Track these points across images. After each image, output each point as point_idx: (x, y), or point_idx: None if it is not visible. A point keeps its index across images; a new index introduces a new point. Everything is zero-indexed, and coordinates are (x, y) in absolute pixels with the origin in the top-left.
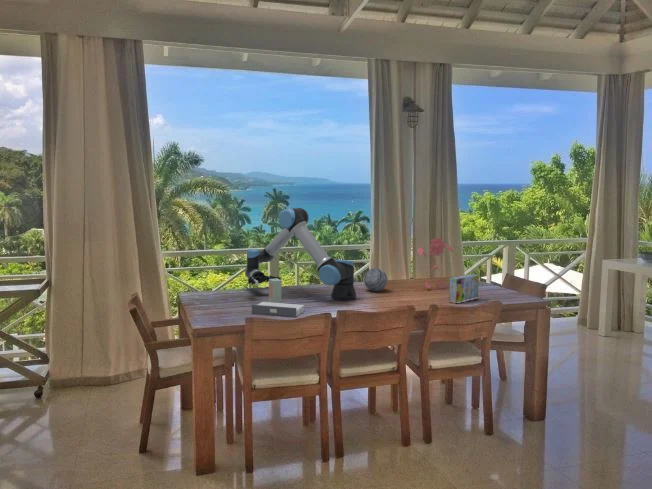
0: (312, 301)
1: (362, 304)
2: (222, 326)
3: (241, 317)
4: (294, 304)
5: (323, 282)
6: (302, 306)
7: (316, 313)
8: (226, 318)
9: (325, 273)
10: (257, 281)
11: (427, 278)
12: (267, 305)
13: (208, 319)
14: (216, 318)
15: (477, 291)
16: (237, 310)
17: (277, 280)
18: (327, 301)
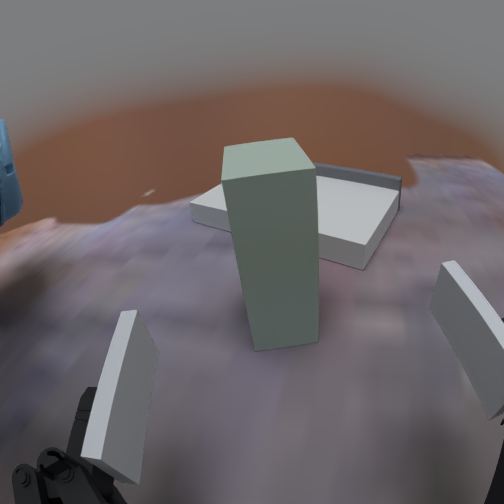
0: (62, 329)
1: (4, 262)
2: (440, 158)
3: (421, 187)
4: (221, 206)
5: (22, 201)
6: (206, 192)
7: (179, 201)
8: (458, 186)
9: (11, 154)
10: (449, 262)
11: None
12: (340, 202)
13: (496, 187)
14: (483, 189)
15: None
16: (464, 239)
17: (253, 146)
18: (24, 312)
